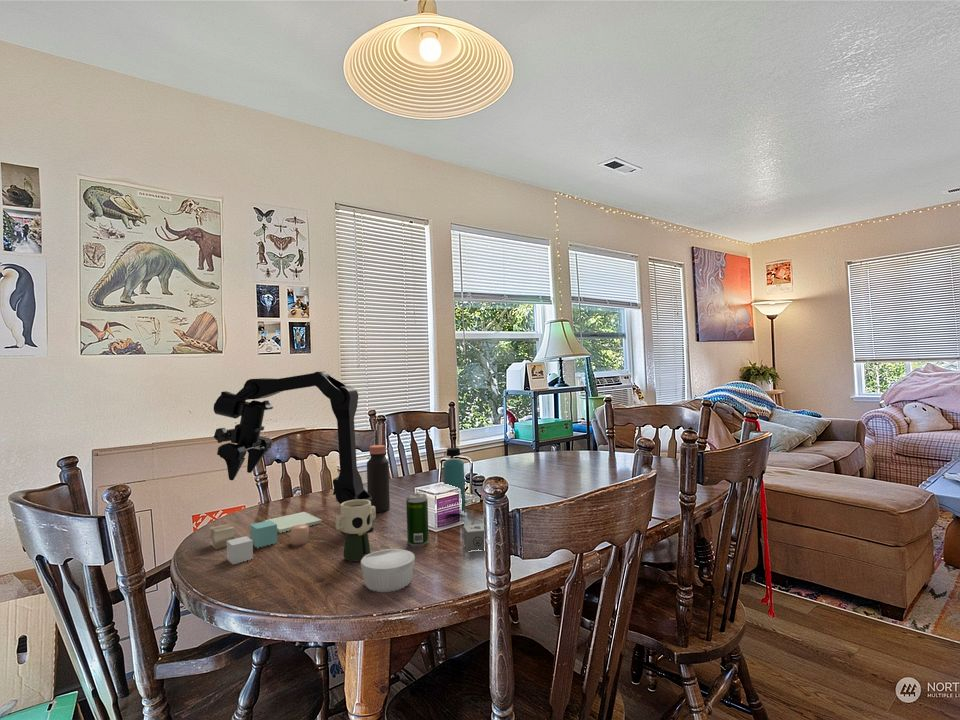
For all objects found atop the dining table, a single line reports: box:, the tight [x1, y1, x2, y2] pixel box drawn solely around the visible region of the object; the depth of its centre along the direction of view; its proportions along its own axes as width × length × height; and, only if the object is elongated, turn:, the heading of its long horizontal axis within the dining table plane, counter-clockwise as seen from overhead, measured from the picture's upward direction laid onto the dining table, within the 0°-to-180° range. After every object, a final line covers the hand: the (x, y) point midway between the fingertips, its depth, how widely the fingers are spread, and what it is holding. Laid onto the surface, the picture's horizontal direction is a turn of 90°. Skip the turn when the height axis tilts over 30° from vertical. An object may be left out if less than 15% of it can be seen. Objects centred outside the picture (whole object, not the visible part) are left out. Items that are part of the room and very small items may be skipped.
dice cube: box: [463, 523, 485, 552], centre depth 124 cm, size 5×5×5 cm
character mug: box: [334, 499, 377, 562], centre depth 119 cm, size 11×7×13 cm, turn 138°
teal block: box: [249, 519, 278, 549], centre depth 131 cm, size 5×5×5 cm
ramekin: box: [360, 548, 416, 593], centre depth 105 cm, size 11×11×5 cm
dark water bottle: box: [366, 444, 391, 513], centre depth 160 cm, size 7×7×20 cm
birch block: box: [209, 523, 235, 550], centre depth 131 cm, size 4×4×4 cm
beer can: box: [405, 492, 429, 547], centre depth 128 cm, size 5×5×12 cm
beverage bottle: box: [442, 447, 467, 512], centre depth 152 cm, size 6×7×20 cm
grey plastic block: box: [226, 535, 254, 565], centre depth 121 cm, size 4×4×4 cm
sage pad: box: [263, 511, 323, 534], centre depth 147 cm, size 12×12×1 cm
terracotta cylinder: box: [290, 524, 310, 546], centre depth 131 cm, size 4×4×4 cm
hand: (240, 476), depth 143 cm, fingers open, 9 cm apart
